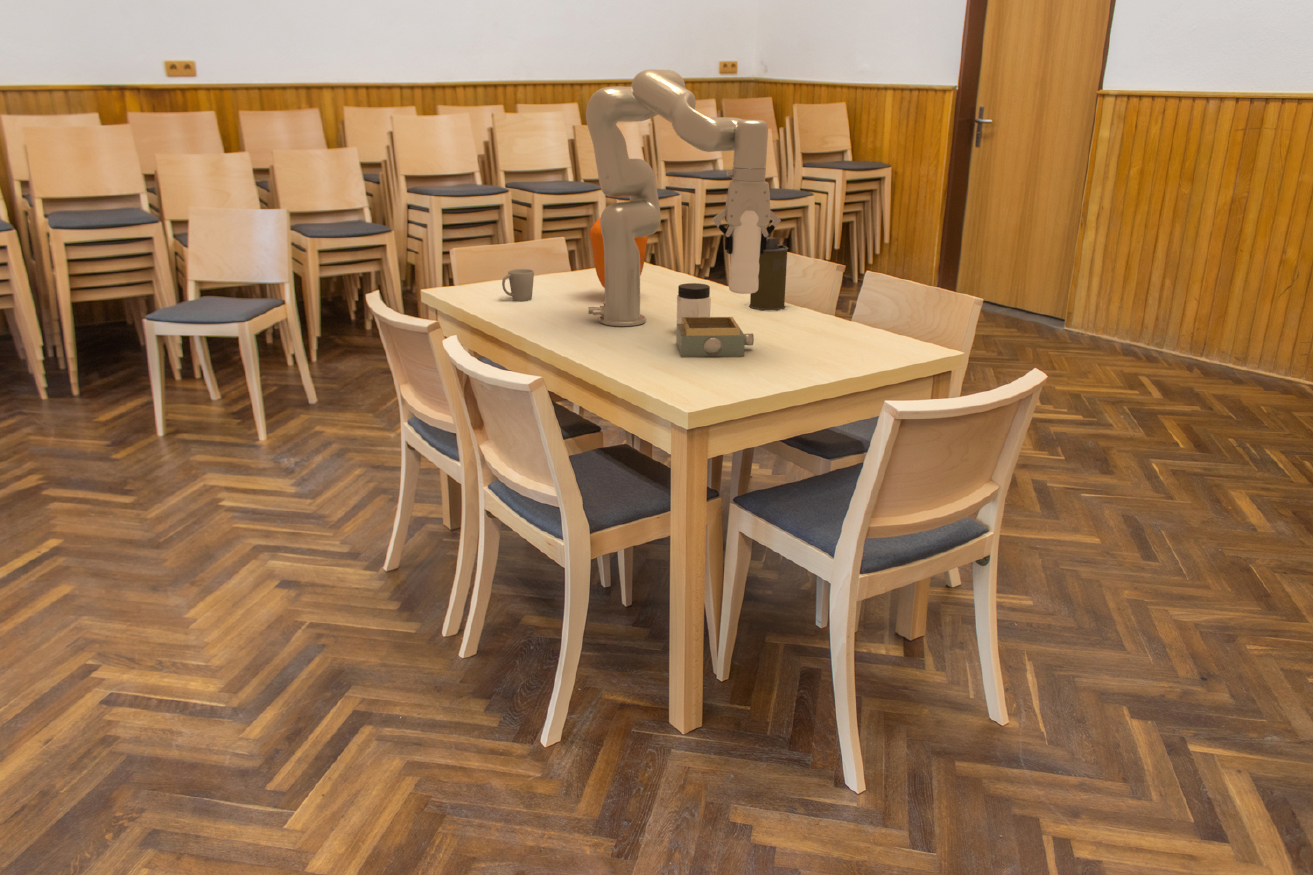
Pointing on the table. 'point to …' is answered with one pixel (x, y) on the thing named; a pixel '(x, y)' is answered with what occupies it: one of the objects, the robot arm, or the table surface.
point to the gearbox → (711, 337)
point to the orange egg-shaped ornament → (599, 250)
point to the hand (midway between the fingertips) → (745, 252)
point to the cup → (520, 284)
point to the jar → (693, 301)
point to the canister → (771, 277)
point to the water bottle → (745, 255)
